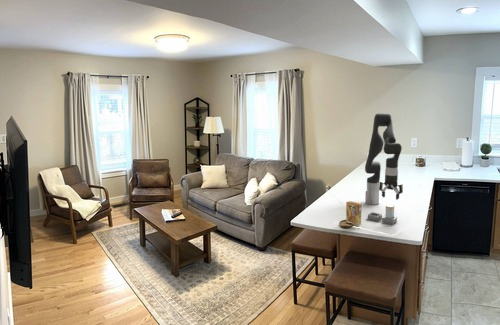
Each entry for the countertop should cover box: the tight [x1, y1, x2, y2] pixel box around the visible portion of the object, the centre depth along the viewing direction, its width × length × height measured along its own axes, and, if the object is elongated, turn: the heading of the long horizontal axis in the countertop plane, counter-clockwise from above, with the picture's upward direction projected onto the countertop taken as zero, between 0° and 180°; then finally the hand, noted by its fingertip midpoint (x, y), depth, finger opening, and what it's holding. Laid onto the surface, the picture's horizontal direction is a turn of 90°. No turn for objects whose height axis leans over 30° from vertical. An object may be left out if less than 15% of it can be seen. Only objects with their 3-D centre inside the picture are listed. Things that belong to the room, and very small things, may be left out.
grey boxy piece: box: [365, 211, 399, 226], centre depth 230 cm, size 18×12×4 cm, turn 47°
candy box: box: [345, 200, 362, 228], centre depth 225 cm, size 9×4×15 cm, turn 50°
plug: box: [385, 204, 395, 219], centre depth 226 cm, size 4×4×11 cm
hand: (390, 198), depth 224 cm, fingers open, 8 cm apart
